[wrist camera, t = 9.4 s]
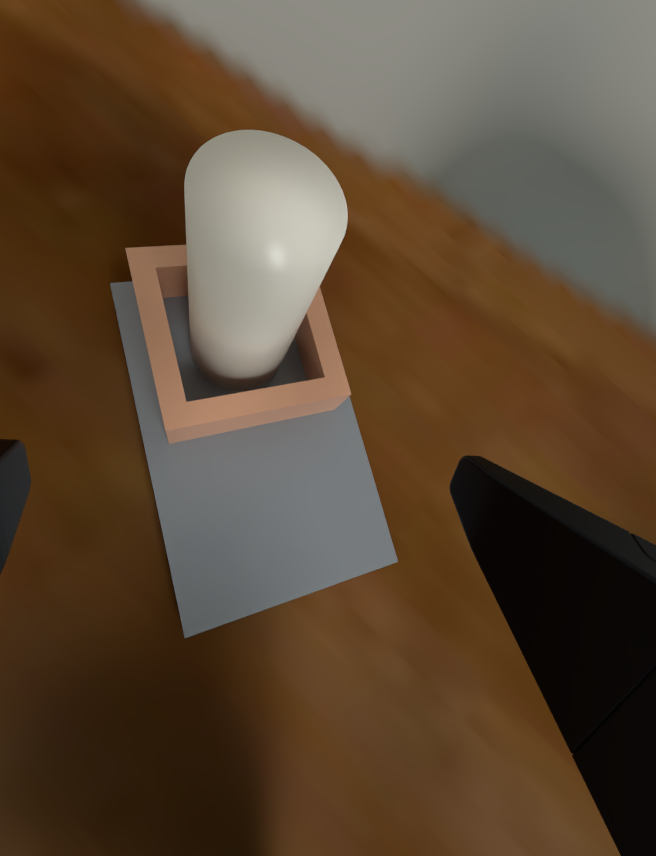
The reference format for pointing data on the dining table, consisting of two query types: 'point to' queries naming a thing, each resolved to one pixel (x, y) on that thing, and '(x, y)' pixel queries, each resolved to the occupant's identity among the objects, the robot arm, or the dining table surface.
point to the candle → (255, 250)
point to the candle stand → (246, 458)
